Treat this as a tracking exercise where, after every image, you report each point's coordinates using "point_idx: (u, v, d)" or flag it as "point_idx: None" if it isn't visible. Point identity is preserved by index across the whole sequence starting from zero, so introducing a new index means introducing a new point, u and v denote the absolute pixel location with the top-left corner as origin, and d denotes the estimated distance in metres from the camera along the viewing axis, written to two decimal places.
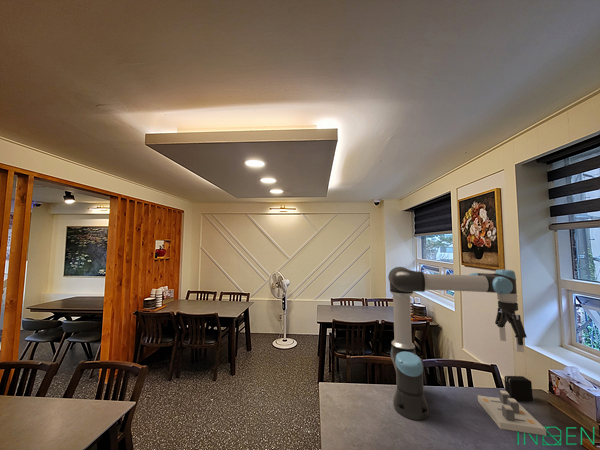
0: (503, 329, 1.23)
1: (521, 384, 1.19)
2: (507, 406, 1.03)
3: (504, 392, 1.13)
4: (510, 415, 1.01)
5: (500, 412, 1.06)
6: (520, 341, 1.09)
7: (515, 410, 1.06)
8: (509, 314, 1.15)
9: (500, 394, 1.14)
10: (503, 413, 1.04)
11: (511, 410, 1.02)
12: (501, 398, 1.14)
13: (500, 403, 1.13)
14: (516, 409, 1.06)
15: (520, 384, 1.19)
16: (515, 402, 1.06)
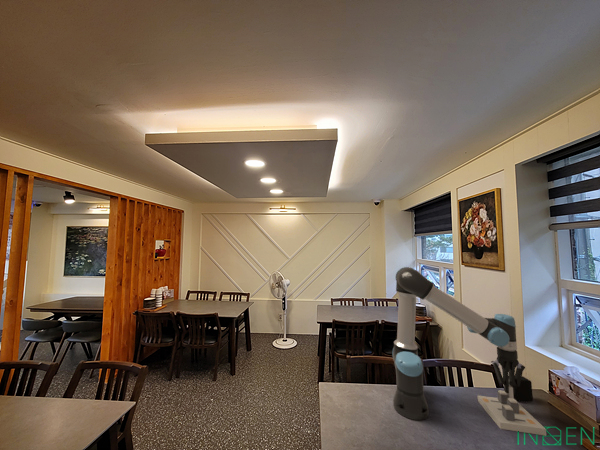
0: None
1: (521, 384, 1.19)
2: (507, 406, 1.03)
3: (502, 392, 1.13)
4: (510, 415, 1.01)
5: (500, 412, 1.06)
6: (504, 388, 1.14)
7: (515, 410, 1.06)
8: None
9: (498, 394, 1.14)
10: (503, 413, 1.04)
11: (511, 410, 1.02)
12: (499, 398, 1.14)
13: (500, 403, 1.13)
14: (516, 409, 1.06)
15: (520, 384, 1.19)
16: (515, 402, 1.06)
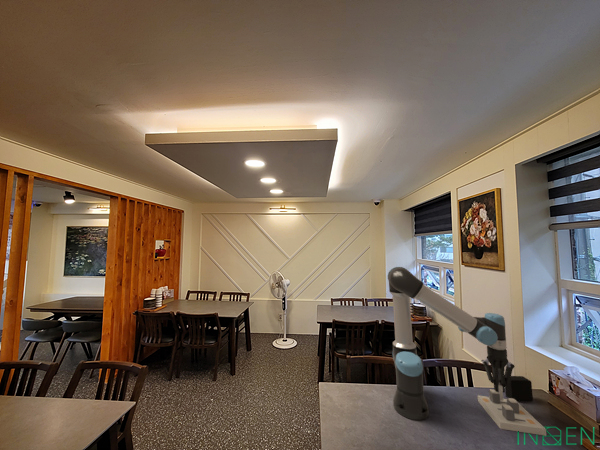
0: None
1: (521, 384, 1.19)
2: (507, 406, 1.03)
3: (494, 391, 1.14)
4: (510, 415, 1.01)
5: (500, 412, 1.06)
6: (494, 386, 1.15)
7: (515, 410, 1.06)
8: None
9: (490, 393, 1.15)
10: (503, 413, 1.04)
11: (511, 410, 1.02)
12: (490, 397, 1.15)
13: (500, 403, 1.13)
14: (516, 409, 1.06)
15: (520, 384, 1.19)
16: (515, 402, 1.06)
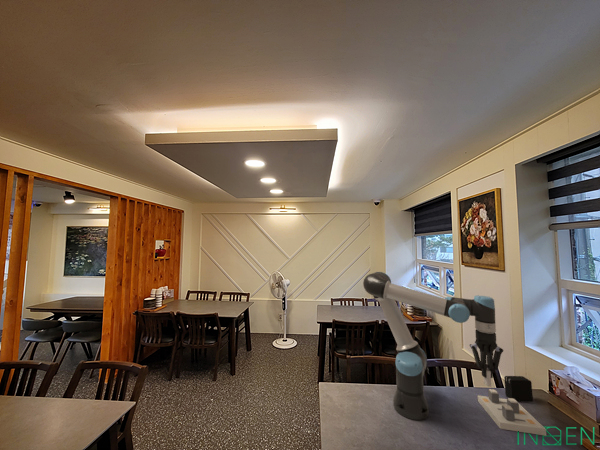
0: None
1: (521, 384, 1.19)
2: (507, 406, 1.03)
3: (493, 391, 1.14)
4: (510, 415, 1.01)
5: (500, 412, 1.06)
6: (482, 372, 1.09)
7: (515, 410, 1.06)
8: None
9: (489, 393, 1.15)
10: (503, 413, 1.04)
11: (511, 410, 1.02)
12: (489, 397, 1.15)
13: (500, 403, 1.13)
14: (516, 409, 1.06)
15: (520, 384, 1.19)
16: (515, 402, 1.06)
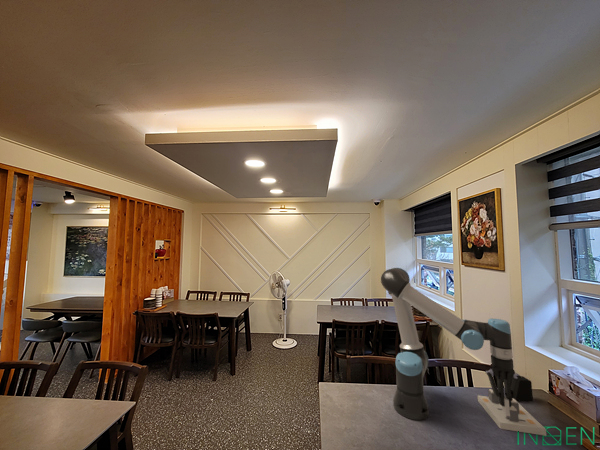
0: None
1: (521, 384, 1.19)
2: (511, 406, 1.03)
3: None
4: (513, 415, 1.01)
5: (500, 412, 1.06)
6: (499, 400, 1.04)
7: None
8: None
9: (489, 393, 1.15)
10: None
11: (515, 411, 1.01)
12: (489, 397, 1.15)
13: None
14: None
15: (520, 384, 1.19)
16: (515, 402, 1.06)
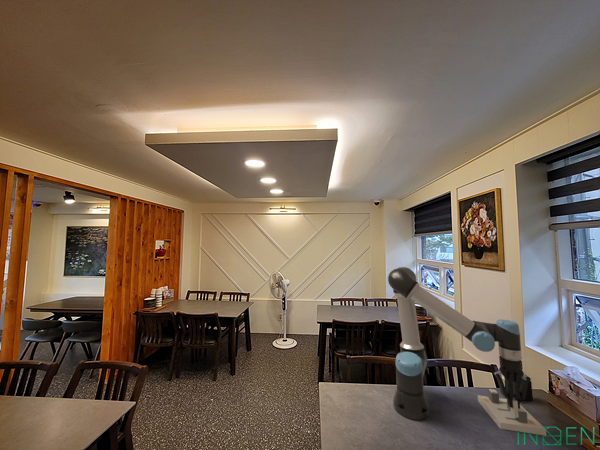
0: None
1: None
2: None
3: (493, 391, 1.14)
4: (522, 417, 1.00)
5: (500, 412, 1.06)
6: (508, 401, 1.03)
7: None
8: None
9: (489, 393, 1.15)
10: None
11: (524, 412, 1.01)
12: (489, 397, 1.15)
13: (500, 403, 1.13)
14: None
15: None
16: None
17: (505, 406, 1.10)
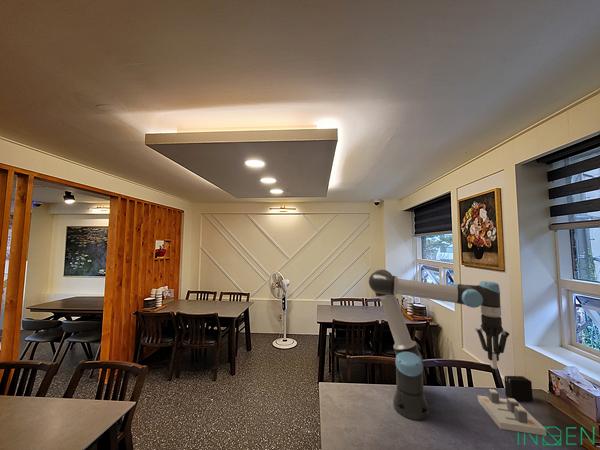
0: None
1: (521, 384, 1.19)
2: (519, 408, 1.02)
3: (493, 391, 1.14)
4: (522, 417, 1.00)
5: (500, 412, 1.06)
6: (488, 355, 1.12)
7: None
8: None
9: (489, 393, 1.15)
10: (515, 415, 1.03)
11: (524, 412, 1.01)
12: (489, 397, 1.15)
13: (500, 403, 1.13)
14: None
15: (520, 384, 1.19)
16: (515, 402, 1.06)
17: (505, 406, 1.10)
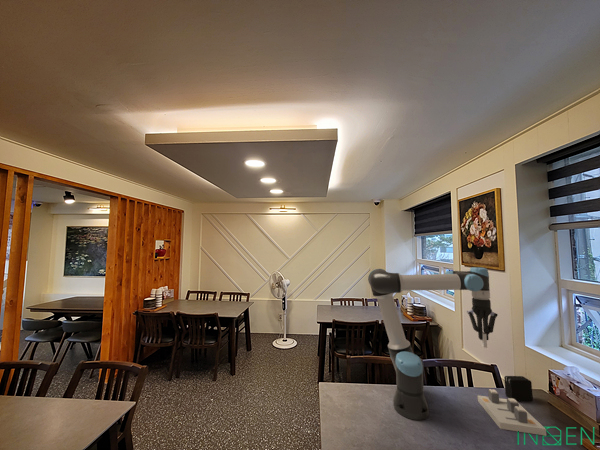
0: None
1: (521, 384, 1.19)
2: (519, 408, 1.02)
3: (493, 391, 1.14)
4: (522, 417, 1.00)
5: (500, 412, 1.06)
6: (478, 335, 1.21)
7: None
8: None
9: (489, 393, 1.15)
10: (515, 415, 1.03)
11: (524, 412, 1.01)
12: (489, 397, 1.15)
13: (500, 403, 1.13)
14: None
15: (520, 384, 1.19)
16: (515, 402, 1.06)
17: (505, 406, 1.10)
